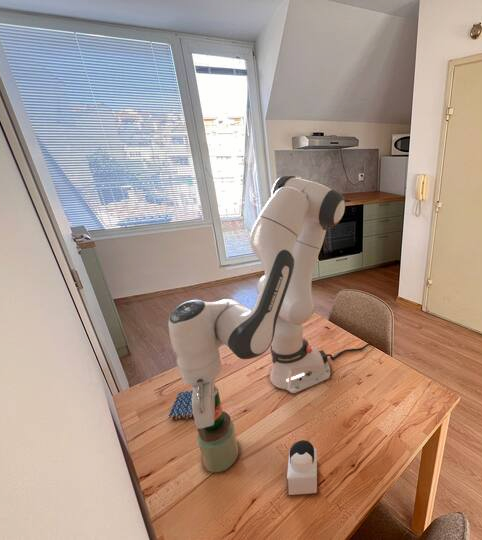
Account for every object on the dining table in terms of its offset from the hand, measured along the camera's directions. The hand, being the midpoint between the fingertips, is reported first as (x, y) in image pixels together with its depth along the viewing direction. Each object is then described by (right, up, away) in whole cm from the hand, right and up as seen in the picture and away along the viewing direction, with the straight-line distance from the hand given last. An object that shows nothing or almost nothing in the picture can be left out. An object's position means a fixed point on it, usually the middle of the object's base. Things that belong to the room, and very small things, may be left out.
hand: (210, 408), depth 74 cm
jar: (-1, -17, +8) cm, 19 cm away
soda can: (0, -5, +2) cm, 6 cm away
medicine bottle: (+23, -20, +3) cm, 31 cm away
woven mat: (-16, -10, +23) cm, 30 cm away
